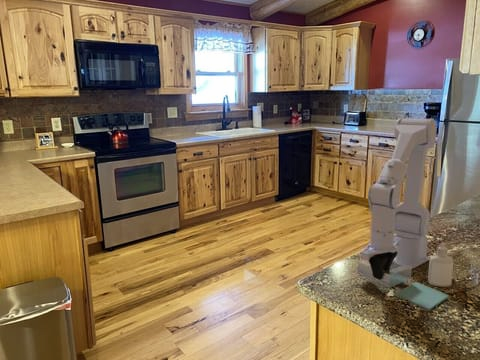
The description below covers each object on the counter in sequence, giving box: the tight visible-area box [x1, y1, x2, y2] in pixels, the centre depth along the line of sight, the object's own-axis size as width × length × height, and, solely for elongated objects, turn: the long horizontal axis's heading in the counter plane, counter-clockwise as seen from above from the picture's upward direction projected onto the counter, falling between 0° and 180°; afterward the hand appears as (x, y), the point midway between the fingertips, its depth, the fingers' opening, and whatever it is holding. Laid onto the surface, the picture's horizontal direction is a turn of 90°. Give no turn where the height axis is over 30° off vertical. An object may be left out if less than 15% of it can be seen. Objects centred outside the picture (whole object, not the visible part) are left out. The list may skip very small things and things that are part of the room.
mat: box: [395, 281, 450, 312], centre depth 97 cm, size 10×9×1 cm
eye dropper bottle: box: [427, 242, 454, 288], centre depth 102 cm, size 4×6×12 cm
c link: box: [357, 259, 412, 289], centre depth 104 cm, size 10×10×4 cm
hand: (380, 276), depth 100 cm, fingers closed on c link, 2 cm apart
